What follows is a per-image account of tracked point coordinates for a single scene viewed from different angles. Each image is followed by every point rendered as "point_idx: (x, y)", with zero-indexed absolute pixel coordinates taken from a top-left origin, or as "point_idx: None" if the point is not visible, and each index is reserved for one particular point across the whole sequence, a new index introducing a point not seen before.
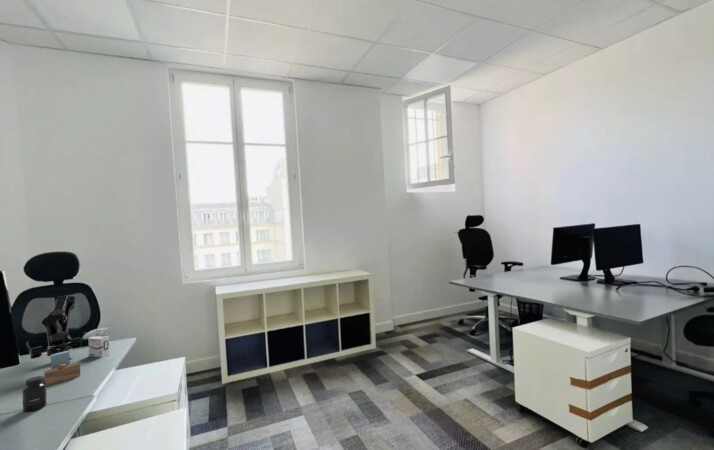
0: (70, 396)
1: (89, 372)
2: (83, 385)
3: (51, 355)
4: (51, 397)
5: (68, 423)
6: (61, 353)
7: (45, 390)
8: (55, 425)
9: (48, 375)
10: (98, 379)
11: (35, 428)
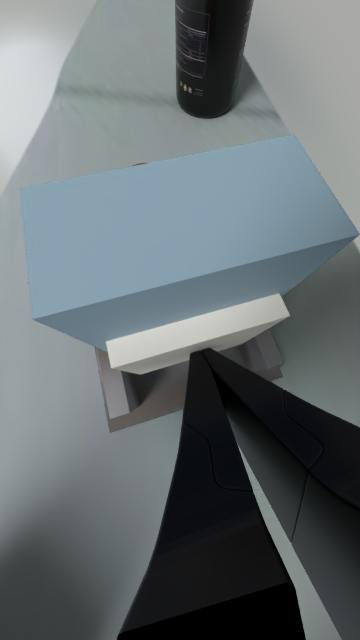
0: (114, 116)
1: (41, 330)
2: (74, 177)
3: (313, 176)
4: (174, 143)
5: (107, 2)
6: (153, 180)
7: (175, 4)
8: (132, 8)
9: None
10: (15, 201)
11: (171, 16)
